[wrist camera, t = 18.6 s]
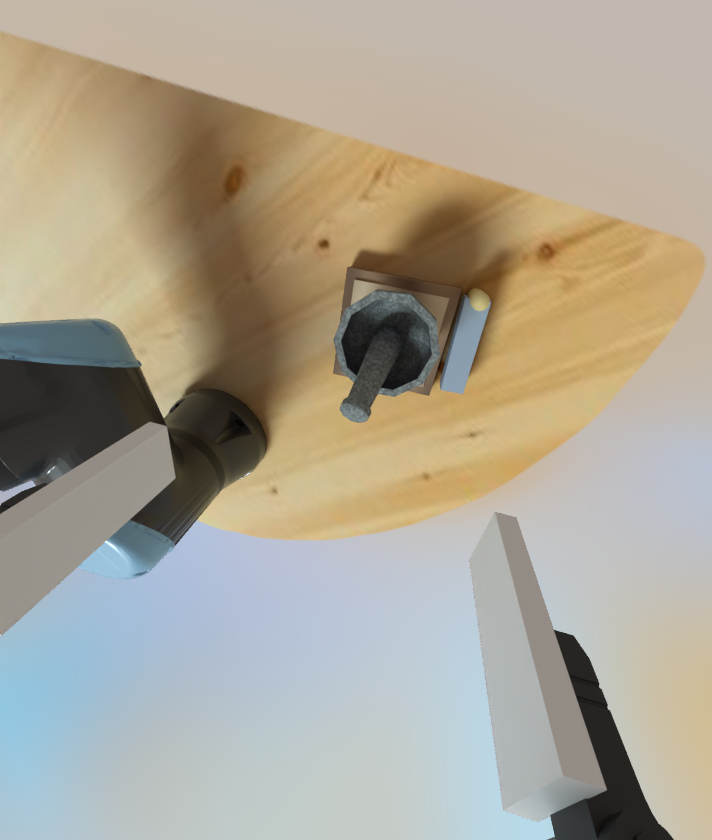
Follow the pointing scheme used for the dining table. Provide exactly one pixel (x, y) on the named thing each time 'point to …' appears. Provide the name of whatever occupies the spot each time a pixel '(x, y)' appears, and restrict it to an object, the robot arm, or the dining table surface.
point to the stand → (430, 294)
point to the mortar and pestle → (384, 348)
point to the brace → (465, 340)
